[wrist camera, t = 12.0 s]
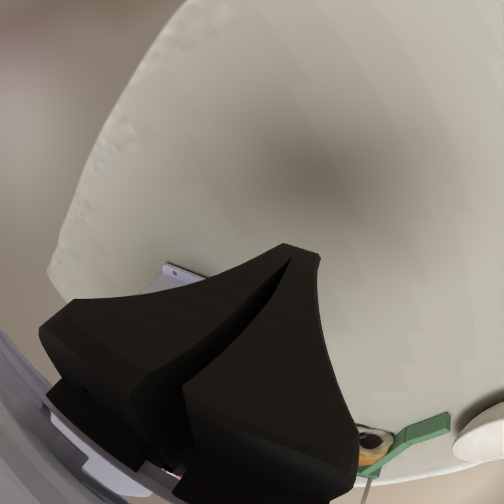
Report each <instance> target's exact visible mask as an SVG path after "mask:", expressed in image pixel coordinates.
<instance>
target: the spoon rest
mask: <svg viewBox="0 0 504 504" xmlns="http://www.w3.org/2000/svg"><path fill="white" fill-rule="evenodd" d="M452 451H453V453H454V455H455V456H456V457H457V458H459V459H462V460H465V461H470V462H485V461H493V460H498V459H503V458H504V401H502V402H500V403H498V404H496V405H494V406H492V407H490V408H489V409H487V410H485V411H483V412H482V413H480V414H479V415H478V416H476V417H475V418H474V419H473V420H471V421H470V422H469V423H468V424H467V425H466V426H465V428H464V429H463V430H462V431H461V432H460V433H459V435H458V436H457V438H456V439H455V441H454V443H453V445H452Z"/></svg>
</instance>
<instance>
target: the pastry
mask: <svg viewBox="0 0 504 504" xmlns="http://www.w3.org/2000/svg"><path fill="white" fill-rule="evenodd" d="M356 427H357V429H358V431H359V433H360V454H359V465H358V466H365V465H373V464H375V463H376V462H377V461H379V460H381V459H382V458H384V456H385V455H386V454H387V452H388V449H389V447H390V446H391V445H392V444H393V443H394V438H393V436H392V435H391V433H389V432H387V431H384V430H380V429H372V428H366V427H362V426H356Z"/></svg>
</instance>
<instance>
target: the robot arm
mask: <svg viewBox="0 0 504 504" xmlns="http://www.w3.org/2000/svg"><path fill="white" fill-rule="evenodd" d="M320 260H321V257H320V256H319V254H317V253H314V252H311V251H307V250H304V249H301V248H298V247H295V246H291V245H288V244H285V243H282V244H280V245H278V246H276V247H274V248H272V249H270V250H269V251H267V252H265V253H263V254H261V255H259V256H257V257H255V258H253V259H251V260H249V261H247V262H245V263H243V264H241V265H239V266H237V267H234V268H232V269H230V270H227V271H225V272H222V273H220V274H218V275H215V276H212V277H210V278H207V279H206V278H204V277H201V276H198V275H196V274H193V273H191V272H188V271H186V270H183V269H181V268H178V267H176V266H173V265H171V264H168V263H165V264H164V265H163V266H162V272H163V273H162V274H161V275H160V276H159V277H158V278H156V279H155V280H154V281H153V282H152V283H151V284H149V285H148V286H147V287H146V288H145V289H144V290H142V291H141V292H140V293H139V294H138V295H133V296H125V297H115V298H95V299H73V300H72V301H71V302H70V303H68V304H67V305H66V306H65V307H63V308H62V309H61V310H60V311H58V312H57V313H56V314H55V315H54V316H52V317H51V318H50V319H49V320H48V321H46V322H45V323H44V324H43V325H42V326H40V327H39V338H40V341H41V343H42V345H43V347H44V349H45V351H46V353H47V354H48V356H49V358H50V359H51V361H52V363H53V364H54V366H55V368H56V369H57V371H58V372H59V374H60V375H61V377H62V378H61V379H60V380H59V381H58V382H57V383H56V384H55V385H54V386H53V385H52V384H51V383H50V382H49V381H48V380H47V379H46V378H45V377H44V376H43V375H42V374H41V373H40V372H39V371H38V370H37V369H36V368H35V367H34V366H33V364H32V363H31V362H30V361H29V360H28V359H27V358H26V357H25V356H24V354H23V353H22V352H21V351H20V350H19V349H18V348H17V346H16V345H15V344H14V343H13V341H12V340H11V339H10V338H9V337H8V335H7V334H6V332H5V331H4V330H3V329H2V327H1V326H0V504H131V503H130V502H128V501H127V500H125V499H123V498H122V497H121V496H119V495H118V494H121V495H128V496H139V497H148V496H150V495H151V494H152V493H155V494H156V495H158V496H160V497H161V498H163V499H165V500H167V501H168V502H170V503H172V504H329V503H330V501H331V500H333V499H335V498H337V497H339V496H341V495H343V494H345V493H347V492H349V491H350V490H351V489H352V488H353V486H354V483H355V480H356V476H357V471H358V465H359V454H360V433H359V431H358V429H357V427H356V424H355V422H354V420H353V418H352V416H351V414H350V412H349V409H348V407H347V405H346V403H345V400H344V398H343V395H342V393H341V390H340V388H339V385H338V383H337V380H336V377H335V373H334V370H333V367H332V364H331V361H330V358H329V355H328V351H327V348H326V344H325V340H324V335H323V330H322V326H321V320H320V313H319V305H318V293H317V271H318V267H319V263H320ZM178 476H182V478H181V479H180V480H179V479H178V478H176V477H178Z"/></svg>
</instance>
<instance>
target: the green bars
mask: <svg viewBox="0 0 504 504" xmlns="http://www.w3.org/2000/svg"><path fill="white" fill-rule="evenodd" d="M450 421H451V416H450V415H449V414H448V413H447V412H445V413H442V414H440V415H438V416H435V417H433V418H430V419H427V420H425V421H422V422H419V423H417V424H414V425H411V426H408V427H407V428H405V429H403V430H402V431H401V432H400V433H399V434H398V435H397V436H395V437H394V443H393V444H392V445H391V446H390V447H389V449H388V452H387V454H386V455H385V456H384V458H382V459H381V460H379V461H377V462H376V463H375V464H373V465H365V466H358V471H357V476H360V477H364V478H368V481H367V485H366V488H365V491H364V495H363V498H362V501H361V504H365V502H366V498H367V495H368V492H369V488H370V485H371V482H372V479H374V480H375V479H376V478H378V477H379V475H380V471H381V467H382V466H383V465H384V464H386V463H387V462H389V461H390V460H391V459H393V458H394V457H396V456H397V455H399V454H400V453H401V452H403V451H404V450H405V449H407V448H408V447H410V446H411V445H413V444H416V443H420V442H423V441H426V440H429V439H432V438H435V437H438V436H440V435H443V434H446V433H448V432H450Z"/></svg>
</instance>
